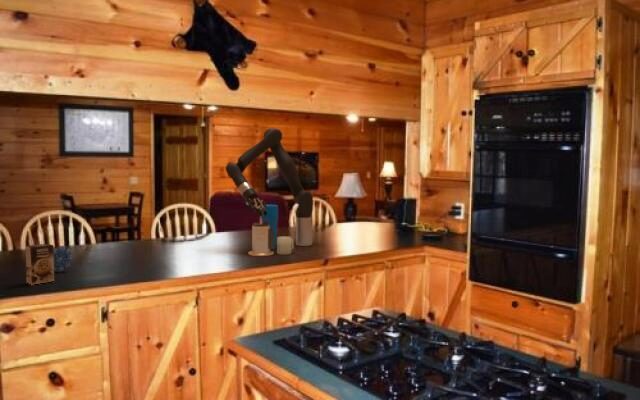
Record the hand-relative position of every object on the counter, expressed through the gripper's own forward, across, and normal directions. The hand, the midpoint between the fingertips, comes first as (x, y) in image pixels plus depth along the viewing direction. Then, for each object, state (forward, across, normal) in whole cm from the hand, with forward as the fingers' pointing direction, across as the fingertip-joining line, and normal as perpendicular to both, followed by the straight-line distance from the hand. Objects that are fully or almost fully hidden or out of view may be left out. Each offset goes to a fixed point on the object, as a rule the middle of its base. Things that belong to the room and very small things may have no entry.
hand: (263, 214), depth 297 cm
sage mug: (+20, +10, +11) cm, 25 cm away
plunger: (+11, 0, +14) cm, 18 cm away
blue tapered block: (+6, +19, +25) cm, 32 cm away
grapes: (-15, -92, +46) cm, 104 cm away
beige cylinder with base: (+14, 0, +17) cm, 22 cm away
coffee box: (-5, -108, +36) cm, 114 cm away
